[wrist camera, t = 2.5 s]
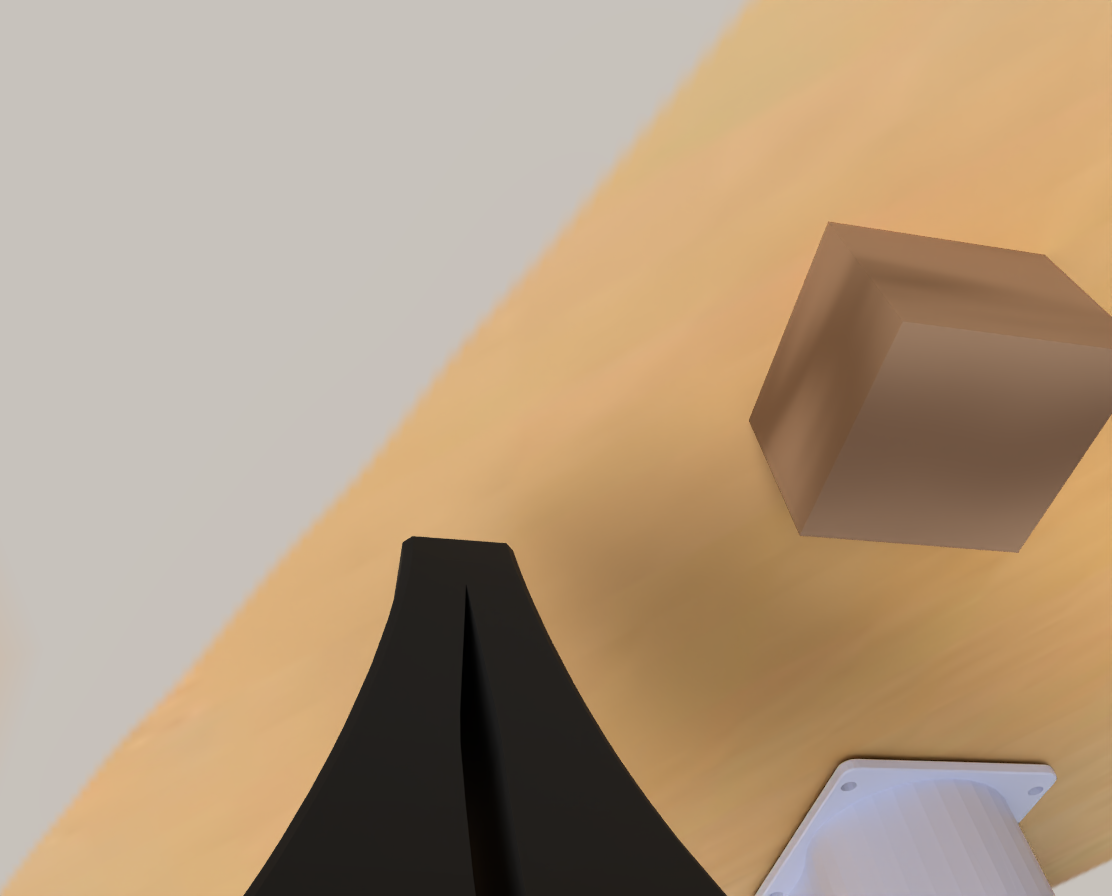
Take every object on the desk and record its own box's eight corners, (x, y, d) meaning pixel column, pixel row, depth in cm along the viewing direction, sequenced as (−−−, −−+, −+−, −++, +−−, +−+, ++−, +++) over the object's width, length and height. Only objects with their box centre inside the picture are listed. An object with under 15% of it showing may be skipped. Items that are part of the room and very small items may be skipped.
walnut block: (939, 436, 24) (1018, 552, 20) (747, 417, 23) (799, 535, 19) (1041, 251, 21) (1151, 354, 18) (826, 218, 20) (902, 321, 16)
